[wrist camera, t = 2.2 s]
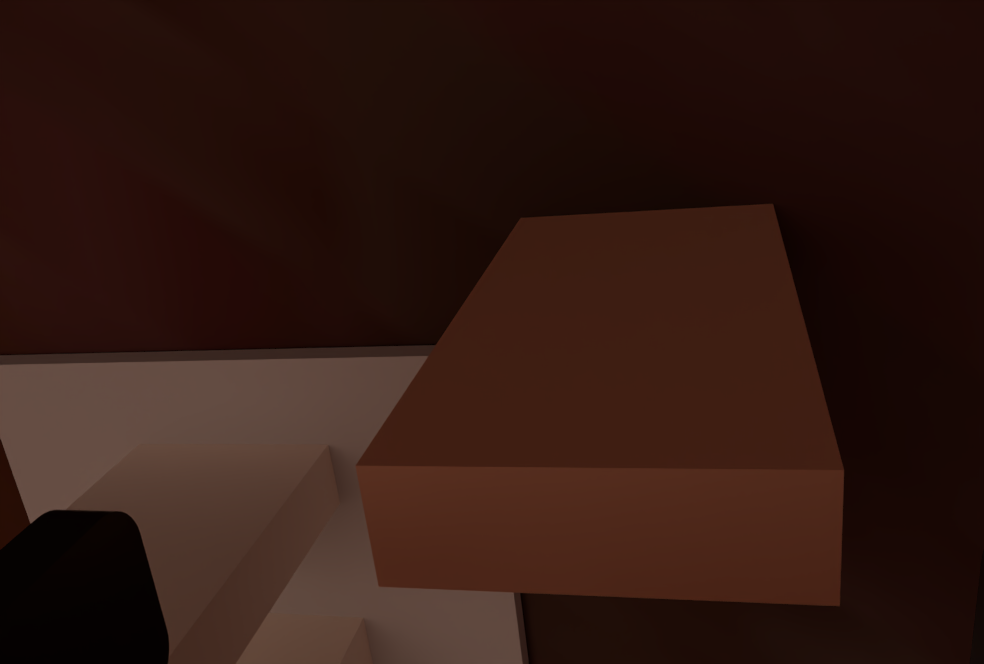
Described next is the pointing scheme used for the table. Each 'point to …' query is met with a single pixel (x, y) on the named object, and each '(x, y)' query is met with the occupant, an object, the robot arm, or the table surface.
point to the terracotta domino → (617, 422)
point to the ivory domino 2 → (308, 641)
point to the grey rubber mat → (253, 420)
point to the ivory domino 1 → (220, 532)
